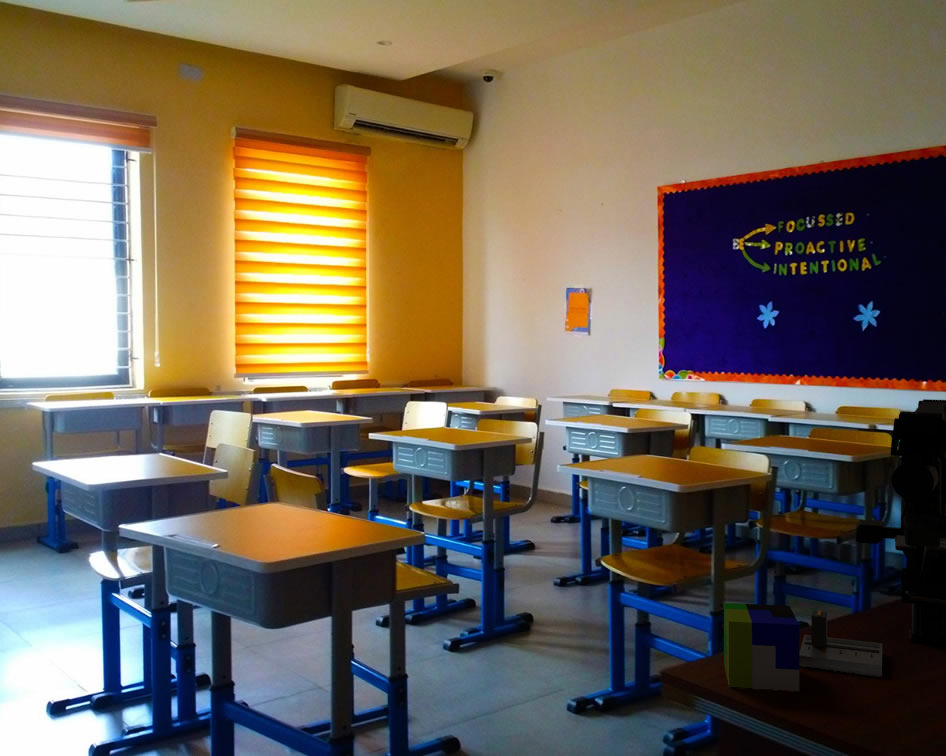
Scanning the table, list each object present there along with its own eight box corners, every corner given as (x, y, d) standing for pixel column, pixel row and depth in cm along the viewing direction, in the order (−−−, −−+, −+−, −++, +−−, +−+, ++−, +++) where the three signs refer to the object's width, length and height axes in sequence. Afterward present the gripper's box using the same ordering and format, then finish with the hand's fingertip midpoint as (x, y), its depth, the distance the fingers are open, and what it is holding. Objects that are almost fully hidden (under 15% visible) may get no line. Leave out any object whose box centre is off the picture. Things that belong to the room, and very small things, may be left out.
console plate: (804, 645, 153) (804, 634, 153) (882, 654, 148) (882, 642, 148) (798, 666, 143) (798, 654, 143) (881, 677, 138) (881, 664, 138)
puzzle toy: (799, 692, 132) (799, 624, 132) (728, 687, 134) (728, 621, 134) (789, 668, 142) (789, 605, 142) (724, 664, 144) (723, 602, 144)
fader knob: (812, 639, 149) (812, 609, 149) (827, 640, 148) (827, 610, 148) (811, 645, 146) (811, 614, 146) (825, 646, 145) (825, 616, 145)
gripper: (855, 495, 139) (854, 596, 139) (994, 503, 131) (993, 609, 131) (857, 485, 149) (857, 578, 149) (986, 491, 141) (986, 590, 141)
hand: (920, 589), depth 143 cm, fingers closed
